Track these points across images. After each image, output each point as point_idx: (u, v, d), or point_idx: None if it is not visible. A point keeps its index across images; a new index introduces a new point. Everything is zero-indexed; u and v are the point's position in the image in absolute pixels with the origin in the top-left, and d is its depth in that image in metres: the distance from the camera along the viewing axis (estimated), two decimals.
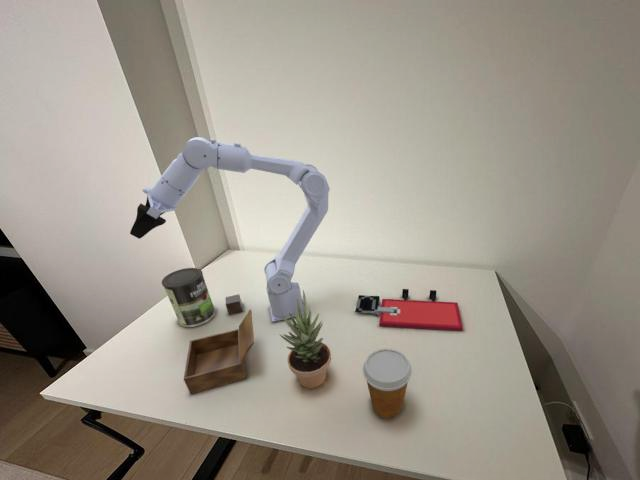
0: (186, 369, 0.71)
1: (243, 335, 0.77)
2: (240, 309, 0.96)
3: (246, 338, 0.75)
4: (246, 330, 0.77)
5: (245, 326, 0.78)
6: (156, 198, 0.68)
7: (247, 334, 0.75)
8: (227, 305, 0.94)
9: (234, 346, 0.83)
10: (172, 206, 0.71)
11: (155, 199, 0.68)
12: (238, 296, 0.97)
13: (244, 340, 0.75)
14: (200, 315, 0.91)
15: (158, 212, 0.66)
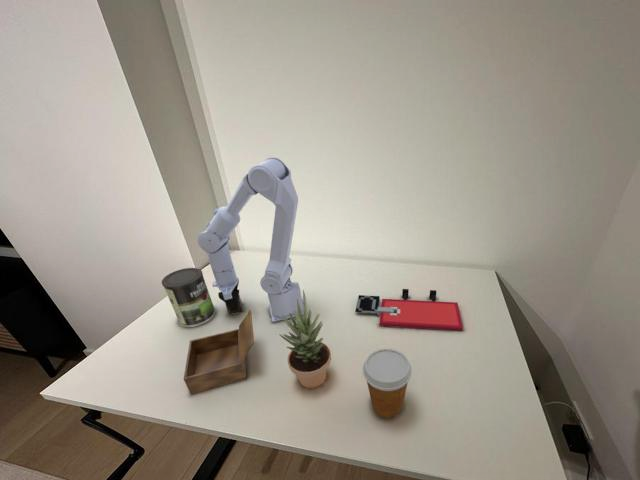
0: (186, 369, 0.71)
1: (243, 335, 0.77)
2: (240, 309, 0.96)
3: (246, 338, 0.75)
4: (246, 330, 0.77)
5: (245, 326, 0.78)
6: (222, 285, 0.90)
7: (247, 334, 0.75)
8: None
9: (234, 346, 0.83)
10: (234, 281, 0.92)
11: (222, 286, 0.90)
12: (238, 296, 0.97)
13: (244, 340, 0.75)
14: (200, 315, 0.91)
15: (229, 294, 0.87)
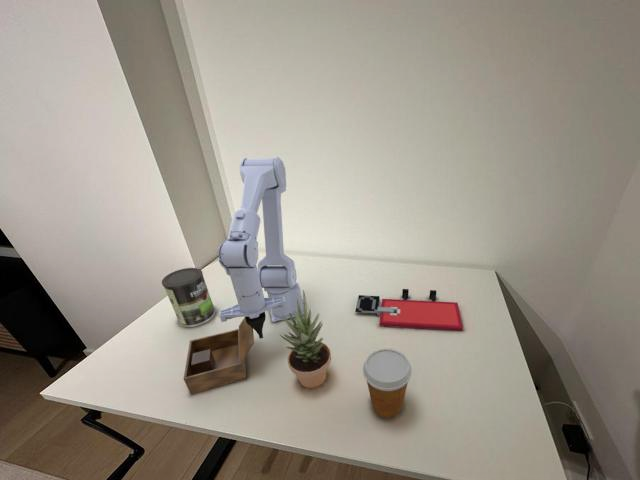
0: (186, 369, 0.71)
1: (243, 335, 0.77)
2: (211, 369, 0.76)
3: (246, 338, 0.75)
4: (246, 330, 0.77)
5: (245, 326, 0.78)
6: (264, 304, 0.73)
7: (247, 334, 0.75)
8: (193, 366, 0.73)
9: (234, 346, 0.83)
10: None
11: (265, 305, 0.73)
12: (208, 352, 0.76)
13: (244, 340, 0.75)
14: (200, 315, 0.91)
15: (284, 298, 0.76)
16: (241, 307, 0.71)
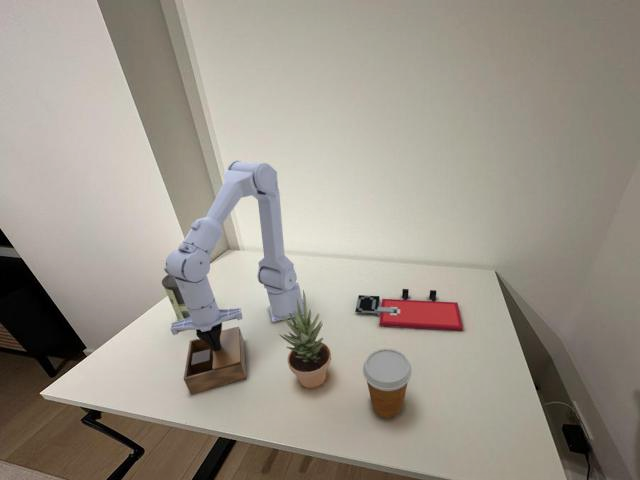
0: (186, 369, 0.71)
1: None
2: (211, 369, 0.76)
3: None
4: None
5: None
6: (218, 316, 0.71)
7: None
8: (193, 366, 0.73)
9: None
10: None
11: (219, 317, 0.71)
12: (208, 352, 0.76)
13: None
14: None
15: (240, 310, 0.74)
16: (192, 320, 0.68)
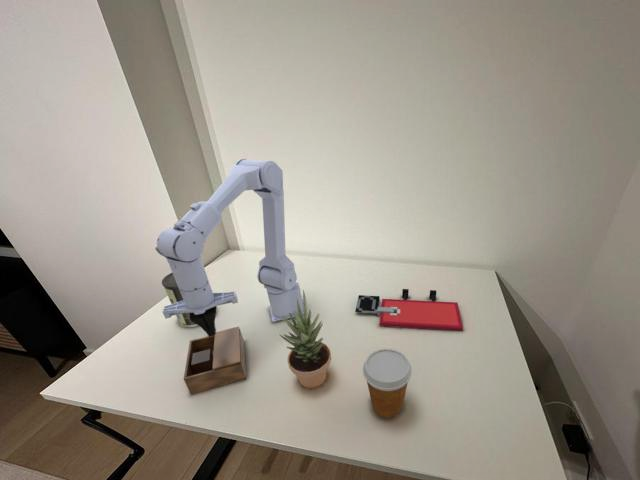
0: (186, 369, 0.71)
1: None
2: (211, 369, 0.76)
3: None
4: None
5: None
6: (212, 300, 0.68)
7: None
8: (193, 366, 0.73)
9: None
10: None
11: (213, 301, 0.68)
12: (208, 352, 0.76)
13: None
14: None
15: (235, 293, 0.71)
16: (185, 302, 0.66)
